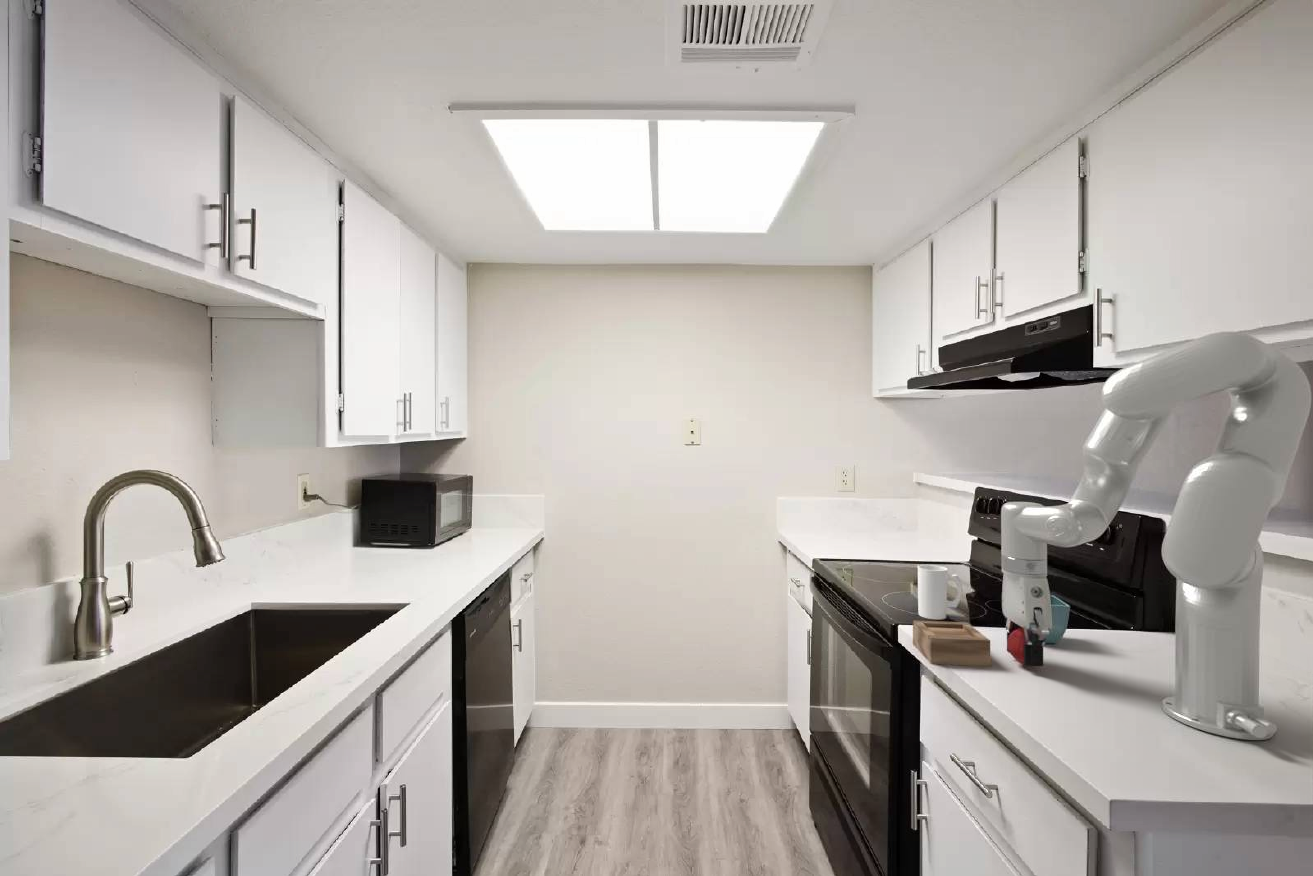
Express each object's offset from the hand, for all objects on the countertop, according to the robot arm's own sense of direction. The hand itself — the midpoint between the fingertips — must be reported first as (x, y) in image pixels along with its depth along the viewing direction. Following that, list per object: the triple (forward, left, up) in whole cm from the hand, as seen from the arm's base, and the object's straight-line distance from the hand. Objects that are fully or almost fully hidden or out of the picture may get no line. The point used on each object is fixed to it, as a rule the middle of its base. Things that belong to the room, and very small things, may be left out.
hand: (1024, 658), depth 114 cm
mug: (+30, +5, -2) cm, 31 cm away
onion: (0, 0, -2) cm, 2 cm away
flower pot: (+16, -11, -2) cm, 20 cm away
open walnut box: (+4, +12, -2) cm, 13 cm away
